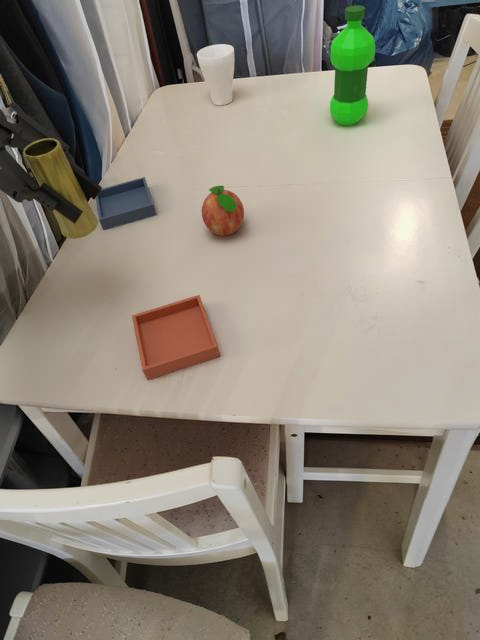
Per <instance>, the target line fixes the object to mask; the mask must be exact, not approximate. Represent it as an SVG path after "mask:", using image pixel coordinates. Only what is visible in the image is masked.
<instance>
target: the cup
mask: <svg viewBox="0 0 480 640" xmlns="http://www.w3.org/2000/svg"><path fill="white" fill-rule="evenodd" d="M196 58H197V62H198V65H199V69H200V72H201V74H202V77H203V79H204V81H205V84H206V86H207V89H208V91H209V94H210V98H211V102H212V104H213V105H215V106H227V105H228V104H230V103H232V101H233V84H234V83H233V82H234V74H235V59H236V58H235V48H234V46H232V45H230V44H227V43H226V44H225V43H219V44H212V45H207V46H205V47H203V48H201V49H199V50H198V51H197V52H196Z"/></svg>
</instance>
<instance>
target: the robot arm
mask: <svg viewBox="0 0 480 640" xmlns="http://www.w3.org/2000/svg"><path fill="white" fill-rule="evenodd" d="M45 138H53V139H56V140H58V141H59V142H60V144H61V147H62V149H63V151H64V153H65V155H66V158H67V160H68V162H69V164H70V167H71V169H72V171H73V173H74V175H75V177H76V179H77V181H78V183H79V185H80V187H81V189H82V191H83V193H84V194H86V195H87V196H88V197H89V198H91V199H92V200H96V199H95V198H96V197H97V195H98V194H99V192H100V190H101V189H103V187H102V186H101V185H100V184H98V183H97V182H96V181H95V180H93V179H92V178H91V177H89V176H88V175H86V172H85V171H84V169H83V168H81V167H80V166H79V165H78V164H76V163H75V162H74V161H72V160H71V159H70V158H69V150H70V145H68V144H67V143H66V142H65V141H64V140H62V139H61V138H59V137H58V136H57V135H55V134H54V133H52V132H51V131H50V130H49V129H48V128H46V127H44V126H43V125H42V124H40V123H39V122H37V121H36V120H35V119H33V118H32V117H31V116H30V115H28V114H27V113H25V111H24V110H23V109H22V108H21V107H20V105H19V104H18V103H16V102H14V101H13V102H10V103H9V106H8V107H5V108H2V109H1V108H0V191H2V192H3V193H4V194H6V195H7V196H8V197H9V198H11V199H12V200H13V201H15V202H16V203H19V204H21V203H23V202H24V201H25V200H26V201H28V202H32V201H33V200H35V202H37V203H39V204H40V205H41V206H43V207H44V208H46V209H47V210H49V211H51V212H53V210H54V209H55V210H56V211H58V212H59V213H60V214H62V215H63V216H65V217H66V218H67V219H69V220H70V221H72V222H73V223H74V224H75V223H76V222H77V220H78V219H79V217H80V216H81V214H82V212H83V211H82V210H80V209H79V208H78V207H76V206H75V205H73V204H72V203H71V202H69V201H68V200H67V199H65V198H64V197H62V196H61V195H60V194H58V193H57V192H56V191H54V190H53V189H51V188H50V187H49V186H47V185H46V184H45V183H43V184H42V185H41V186H40V185H39V183H38V182H36V181H35V180H34V178H33V177H32V176H31V175H30V174H29V173H28V172H27V170H25V168H24V167H23V166H22V165H21V164H20V163H19V162H18V161H17V160H16V158H14V157H13V155H12V154H11V153H10V152H9V151H8V150H7V148H6V147H7V146H8V147H10V148H12V149H19V150H21V151H23V150H24V148H25V147H26V146H28V145H29V144H31V143H32V142H35V141H37V140H40V139H45Z"/></svg>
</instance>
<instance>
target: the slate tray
mask: <svg viewBox="0 0 480 640" xmlns="http://www.w3.org/2000/svg"><path fill="white" fill-rule="evenodd" d="M94 200H95V204H96V212H97V217H98V222H99V224H100V226H101V228H102V230H103V231H106V230H109V229H112V228H115V227H120V226H122V225H126V224H129V223H134V222H137V221H140V220H144V219H147V218H150V217H151V218H152V217H154V216H157V211H156V208H155V205H154V201H153V199H152V196H151V192H150V189H149V186H148V183H147V180H146V177H145V176H143V177H140V178H135V179H132V180H128V181H124V182H121V183H118V184H114V185H110V186H107V187H102V189H101V190H100V192H99V194H98V195H97V197H96V198H95V199H94Z"/></svg>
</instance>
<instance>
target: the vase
mask: <svg viewBox="0 0 480 640" xmlns="http://www.w3.org/2000/svg"><path fill="white" fill-rule="evenodd" d="M22 155H23V157H24V158H25V161H26V163H27V165H28V166H29V168H30V170H31V172H32V174H33V175H34V177H35V179H36V181H37V184H38V186H39V187H40V186H41V185H42V184H43V183H45V184H46V185H47V186H49V187H50V188H51V189H53V190H54V191H56V192H57V193H58V194H60V195H61V196H62V197H64V198H65V199H67V200H68V201H69V202H71V203H72V204H73V205H75V206H76V207H78V208H79V209H80V210H82V211H83V212H82V214H81V216H80V217H79V219H78V220H77V222H76V223H75V224H74V223H73V222H72V221H70V220H69V219H67V218H66V217H65V216H63V215H62V214H60V213H59V212H58V211H56V210H55V209H54V210H53V211H52V213H53V215H54V217H55V219H56V221H57V223H58V226H59V228H60V232H61V234H62V236H63V237H65V238H67V239H70V240H71V239H72V240H75V239H81V238H84V237H88V235H90V234H92V233H93V232H94V231H95V230H96V229H97V228H98V225H99V219H98V218H97V217H96V215H95V214H94V211H93V209H92V207H91V205H90V204H89V201H88V200H87V198H86V196H85V193H84V192H83V191H82V189H81V187H80V185H79V183H78V181H77V179H76V177H75V175H74V173H73V171H72V169H71V167H70V164H69V162H68V160H67V158H66V155H65V153H64V151H63V149H62V147H61V144H60V142H59V141H58V140H56V139H53V138H45V139H40V140H37V141H35V142H32V143H31V144H29V145H28V146H26V147H25V148H24V150H22Z"/></svg>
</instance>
